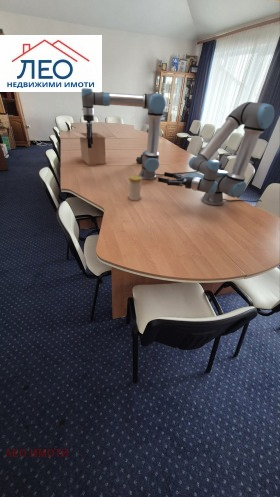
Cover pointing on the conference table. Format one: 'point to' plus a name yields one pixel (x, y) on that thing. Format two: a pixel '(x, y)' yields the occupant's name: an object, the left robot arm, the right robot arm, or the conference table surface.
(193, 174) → the book
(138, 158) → the laser sight
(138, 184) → the jar
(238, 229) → the conference table surface
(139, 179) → the lid
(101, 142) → the box
